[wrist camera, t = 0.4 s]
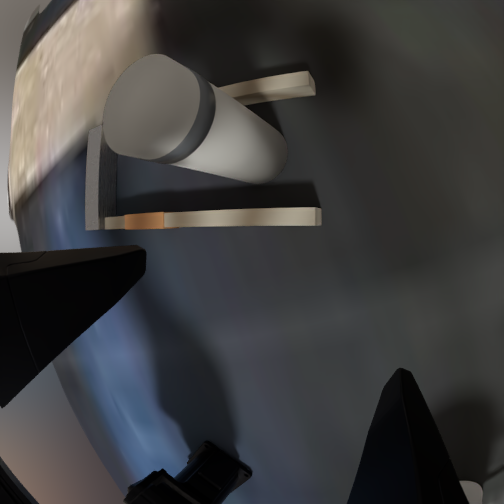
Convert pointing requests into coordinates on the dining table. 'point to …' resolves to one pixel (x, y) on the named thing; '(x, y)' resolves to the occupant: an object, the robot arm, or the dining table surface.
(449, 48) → the dining table surface
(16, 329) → the robot arm
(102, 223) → the beige u-shaped frame
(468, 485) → the mug
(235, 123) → the grey capped post
